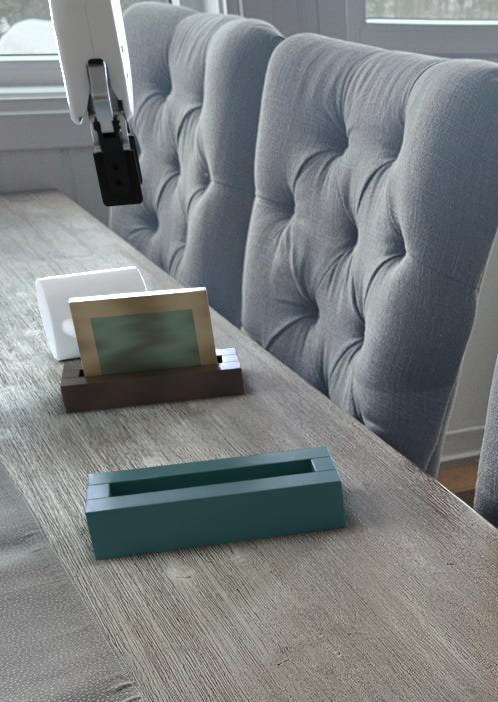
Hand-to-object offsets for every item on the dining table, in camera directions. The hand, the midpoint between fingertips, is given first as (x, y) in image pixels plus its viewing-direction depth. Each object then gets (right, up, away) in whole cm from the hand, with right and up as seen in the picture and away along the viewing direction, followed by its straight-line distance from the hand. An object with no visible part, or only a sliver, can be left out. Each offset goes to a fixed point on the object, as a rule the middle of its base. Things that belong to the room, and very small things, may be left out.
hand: (124, 194), depth 96 cm
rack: (0, -14, +10) cm, 17 cm away
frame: (0, -14, +10) cm, 17 cm away
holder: (+12, -30, -16) cm, 36 cm away
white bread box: (-8, -8, +20) cm, 23 cm away
